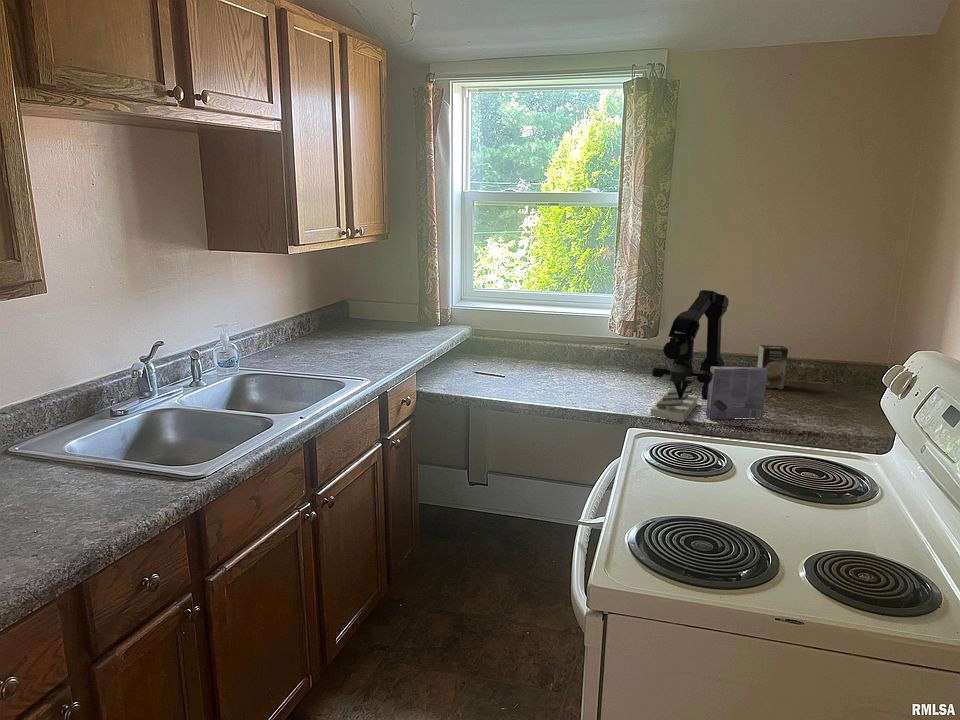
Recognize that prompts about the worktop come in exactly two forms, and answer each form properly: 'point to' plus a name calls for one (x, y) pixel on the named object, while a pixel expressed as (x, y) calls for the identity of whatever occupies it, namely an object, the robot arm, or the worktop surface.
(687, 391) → the block
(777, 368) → the coffee box
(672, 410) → the switch panel
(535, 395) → the worktop surface
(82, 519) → the worktop surface
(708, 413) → the cake pan box
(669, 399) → the block
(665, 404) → the plate
